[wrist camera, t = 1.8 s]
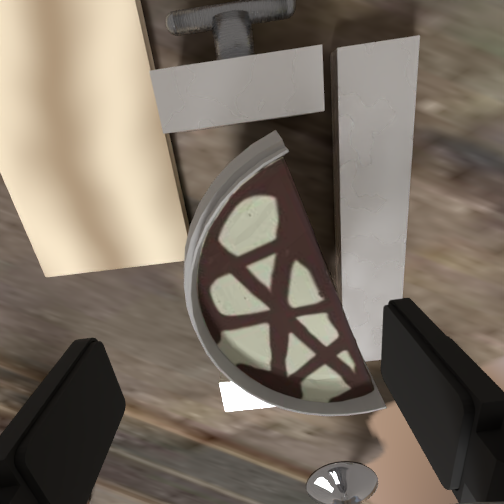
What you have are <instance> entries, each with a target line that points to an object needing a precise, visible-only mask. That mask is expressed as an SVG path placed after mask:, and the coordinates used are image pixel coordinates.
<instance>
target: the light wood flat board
mask: <svg viewBox="0 0 504 504" xmlns="http://www.w3.org/2000/svg"><path fill="white" fill-rule="evenodd" d="M151 70H155V66H154V61H153V56H152V52H151V47H150V43H149V38H148V33H147V29H146V24H145V20H144V15H143V10H142V6H141V1H140V0H0V173H1V175H2V177H3V180H4V182H5V184H6V186H7V189H8V191H9V193H10V196H11V198H12V200H13V203H14V205H15V207H16V210H17V212H18V214H19V216H20V219H21V221H22V223H23V226H24V228H25V230H26V233H27V235H28V237H29V239H30V242H31V244H32V246H33V249H34V251H35V253H36V256H37V258H38V260H39V263H40V265H41V267H42V269H43V272H44V274H45V276H46V277H53V276H61V275H69V274H77V273H86V272H94V271H102V270H111V269H119V268H127V267H136V266H144V265H152V264H161V263H169V262H177V261H184V257H185V245H186V241H187V237H188V232H189V228H190V227H189V222H188V218H187V213H186V208H185V204H184V199H183V195H182V190H181V185H180V181H179V176H178V172H177V167H176V162H175V158H174V153H173V148H172V144H171V139H170V135H169V133H165V134H163V131H162V126H161V122H160V117H159V113H158V108H157V104H156V99H155V95H154V90H153V86H152V82H151V77H150V73H149V71H151Z"/></svg>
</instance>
